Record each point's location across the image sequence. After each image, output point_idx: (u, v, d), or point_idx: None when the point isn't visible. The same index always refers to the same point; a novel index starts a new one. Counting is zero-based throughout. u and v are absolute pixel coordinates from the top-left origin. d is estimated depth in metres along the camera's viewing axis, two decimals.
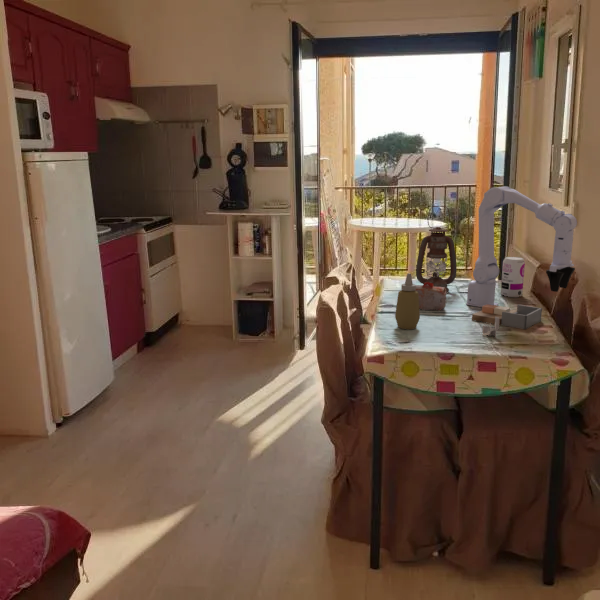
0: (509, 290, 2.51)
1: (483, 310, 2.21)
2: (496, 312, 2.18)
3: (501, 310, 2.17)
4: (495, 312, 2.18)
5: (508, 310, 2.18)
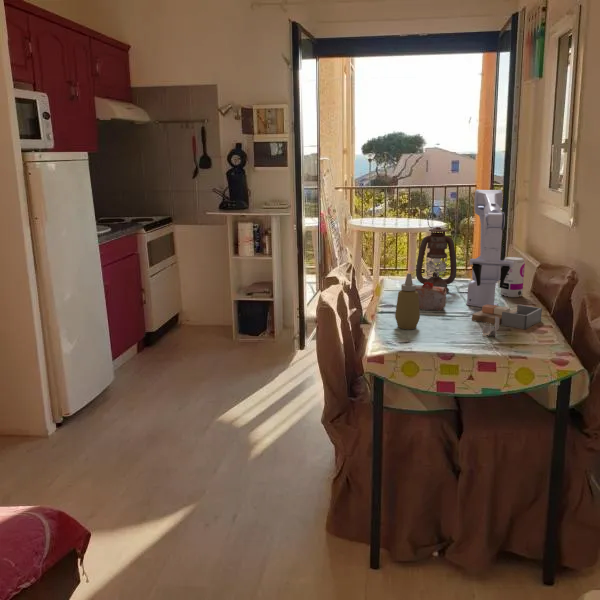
0: (509, 290, 2.51)
1: (483, 310, 2.21)
2: (496, 312, 2.18)
3: (501, 310, 2.17)
4: (495, 312, 2.18)
5: (508, 310, 2.18)
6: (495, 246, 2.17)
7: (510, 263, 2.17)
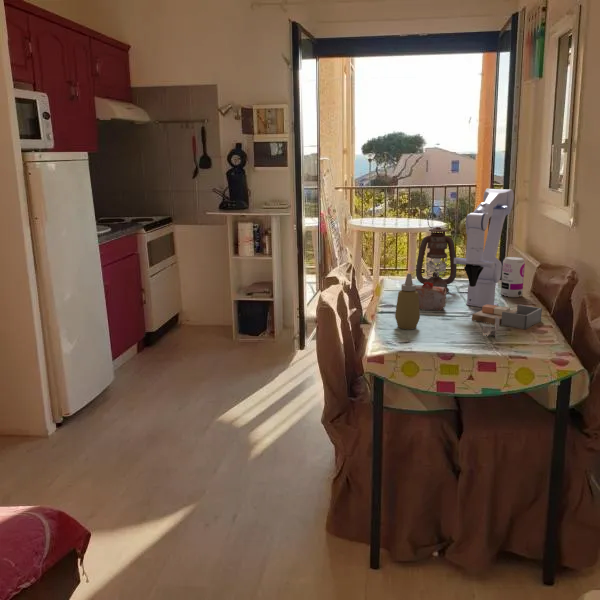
0: (509, 290, 2.51)
1: (483, 310, 2.21)
2: (496, 312, 2.18)
3: (501, 310, 2.17)
4: (495, 312, 2.18)
5: (508, 310, 2.18)
6: (474, 246, 2.18)
7: (490, 264, 2.17)
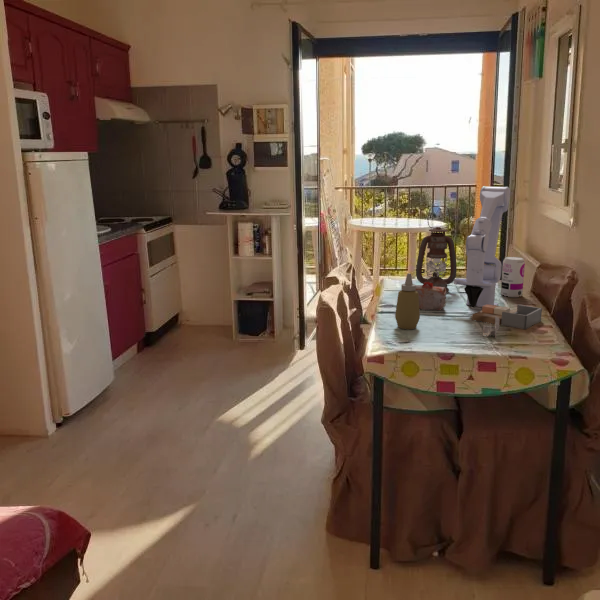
0: (509, 290, 2.51)
1: (483, 310, 2.21)
2: (496, 312, 2.18)
3: (501, 310, 2.17)
4: (495, 312, 2.18)
5: (508, 310, 2.18)
6: (474, 268, 2.20)
7: (490, 285, 2.19)
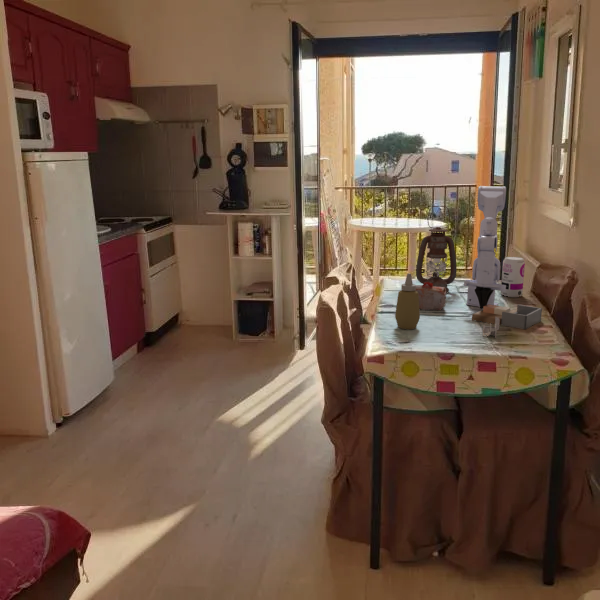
0: (509, 290, 2.51)
1: (484, 310, 2.21)
2: (496, 312, 2.18)
3: (501, 310, 2.17)
4: (495, 312, 2.18)
5: (508, 310, 2.18)
6: (487, 269, 2.17)
7: (501, 287, 2.16)
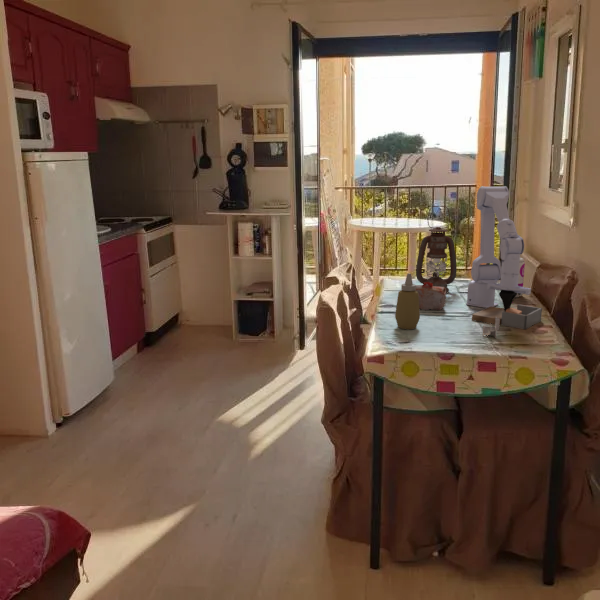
0: None
1: None
2: None
3: None
4: None
5: None
6: (515, 272, 2.12)
7: (526, 290, 2.11)
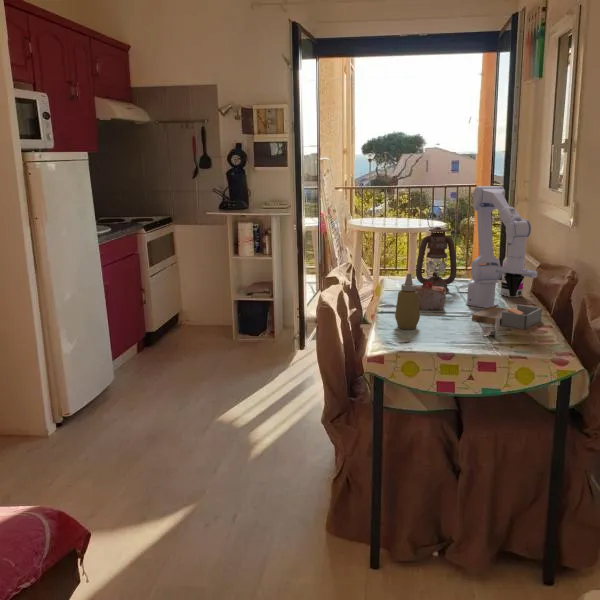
0: None
1: None
2: None
3: None
4: None
5: None
6: (522, 255, 2.11)
7: (532, 273, 2.10)
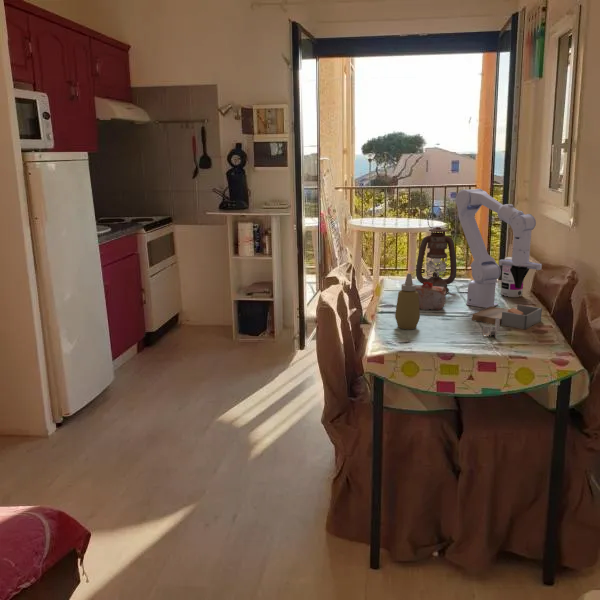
0: (509, 290, 2.51)
1: None
2: None
3: None
4: None
5: None
6: (529, 248, 2.20)
7: (537, 265, 2.18)
